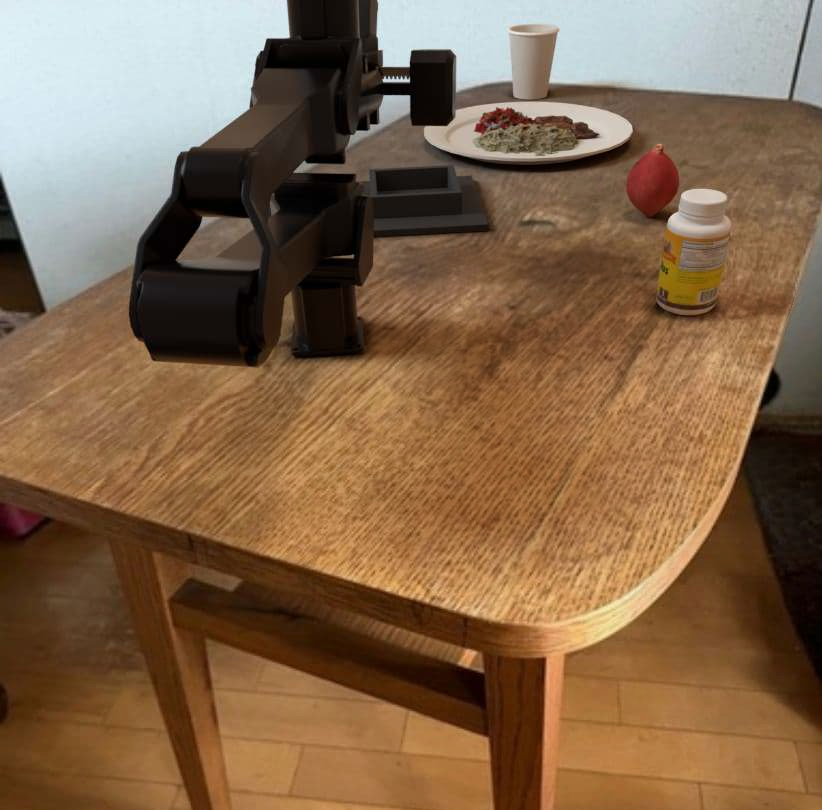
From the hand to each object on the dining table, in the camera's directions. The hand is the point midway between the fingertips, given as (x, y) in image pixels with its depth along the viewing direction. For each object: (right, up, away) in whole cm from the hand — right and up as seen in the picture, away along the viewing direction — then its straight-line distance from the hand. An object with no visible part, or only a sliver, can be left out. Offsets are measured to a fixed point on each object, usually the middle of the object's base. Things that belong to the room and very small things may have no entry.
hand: (375, 79), depth 87 cm
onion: (+31, -9, +13) cm, 35 cm away
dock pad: (+4, -6, +18) cm, 19 cm away
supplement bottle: (+30, -25, -6) cm, 39 cm away
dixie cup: (+24, +29, +59) cm, 70 cm away
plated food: (+21, +11, +38) cm, 45 cm away
